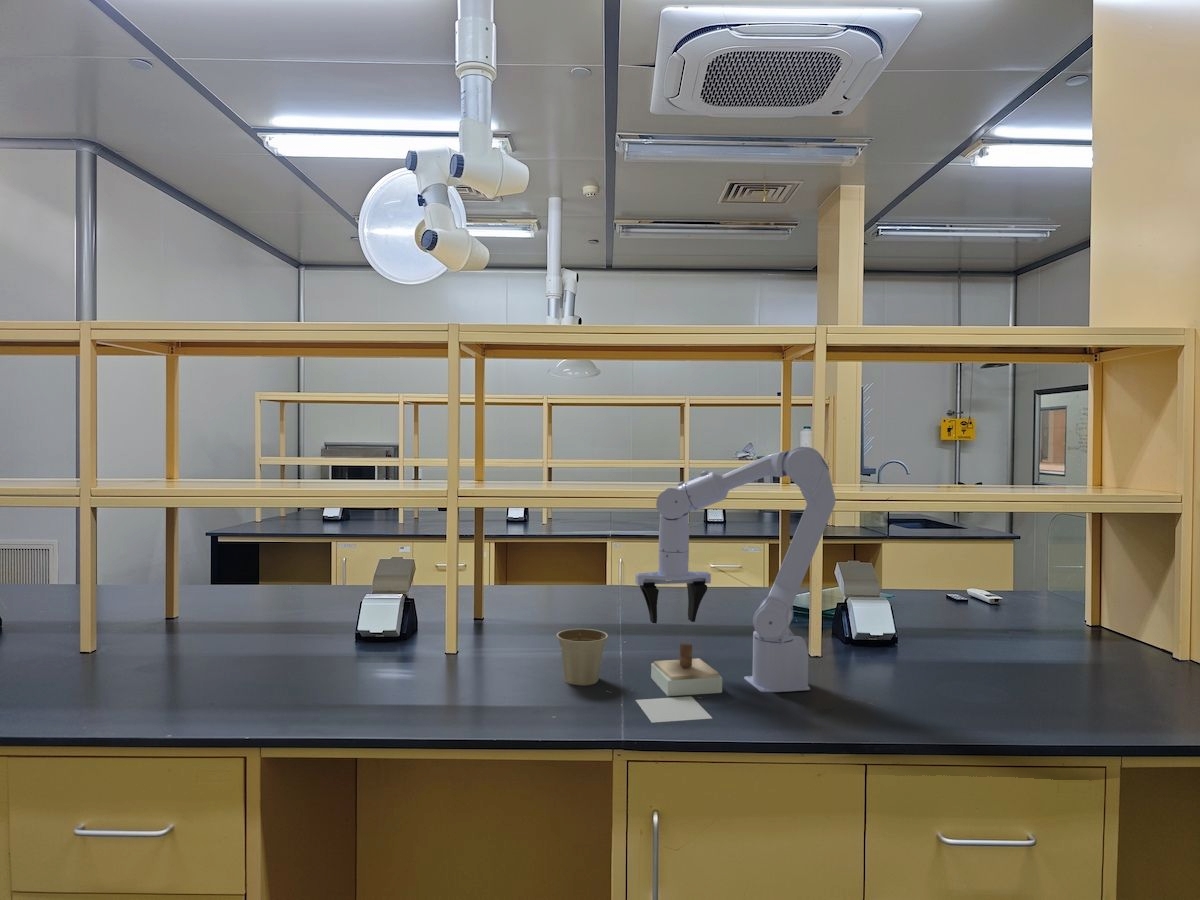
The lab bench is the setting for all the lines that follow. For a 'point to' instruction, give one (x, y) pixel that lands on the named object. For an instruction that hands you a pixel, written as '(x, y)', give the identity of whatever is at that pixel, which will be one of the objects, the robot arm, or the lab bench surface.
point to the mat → (672, 709)
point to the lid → (685, 666)
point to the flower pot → (581, 655)
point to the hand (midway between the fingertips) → (672, 621)
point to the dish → (686, 684)
